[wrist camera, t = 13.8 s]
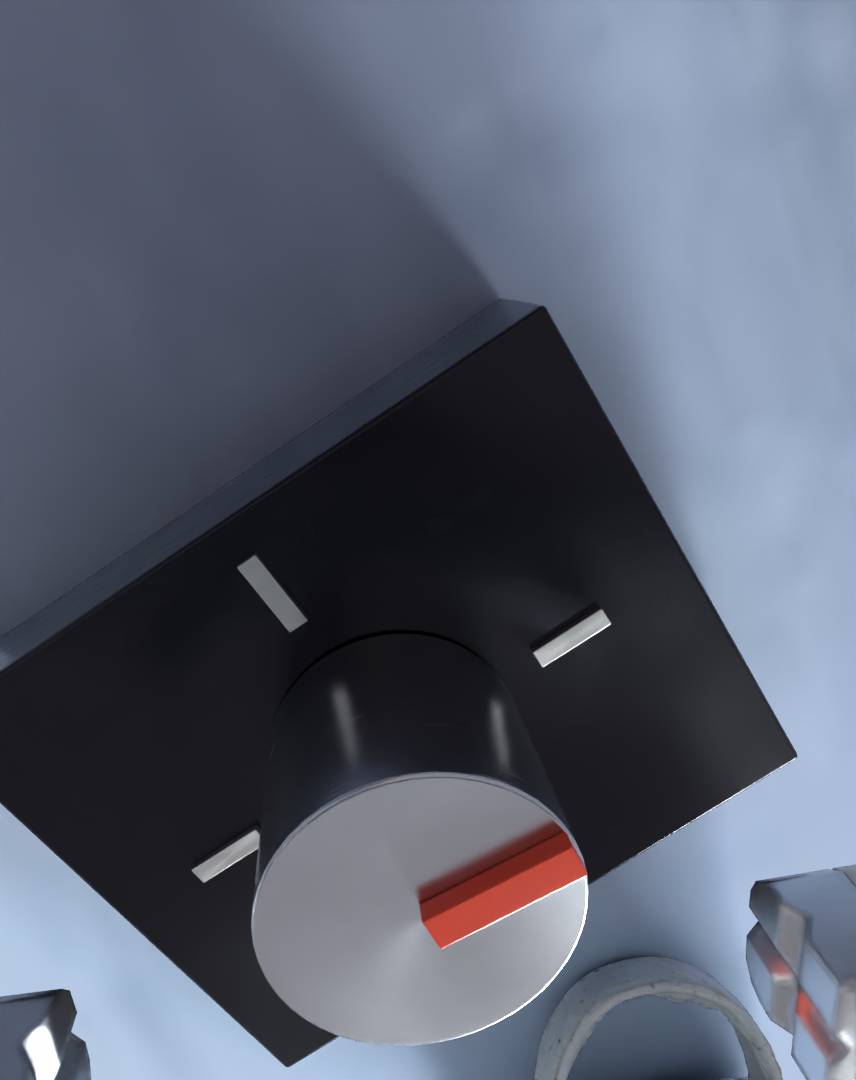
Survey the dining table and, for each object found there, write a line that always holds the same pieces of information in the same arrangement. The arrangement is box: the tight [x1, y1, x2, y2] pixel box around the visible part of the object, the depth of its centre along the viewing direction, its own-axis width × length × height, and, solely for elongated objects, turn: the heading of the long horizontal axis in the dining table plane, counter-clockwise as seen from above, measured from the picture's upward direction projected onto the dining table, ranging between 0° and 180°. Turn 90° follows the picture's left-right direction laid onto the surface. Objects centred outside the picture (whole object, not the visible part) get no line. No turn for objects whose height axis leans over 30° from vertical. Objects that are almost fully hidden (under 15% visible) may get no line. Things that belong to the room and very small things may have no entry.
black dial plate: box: [0, 298, 797, 1067], centre depth 16 cm, size 12×10×3 cm
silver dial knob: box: [251, 634, 589, 1046], centre depth 12 cm, size 4×4×4 cm
